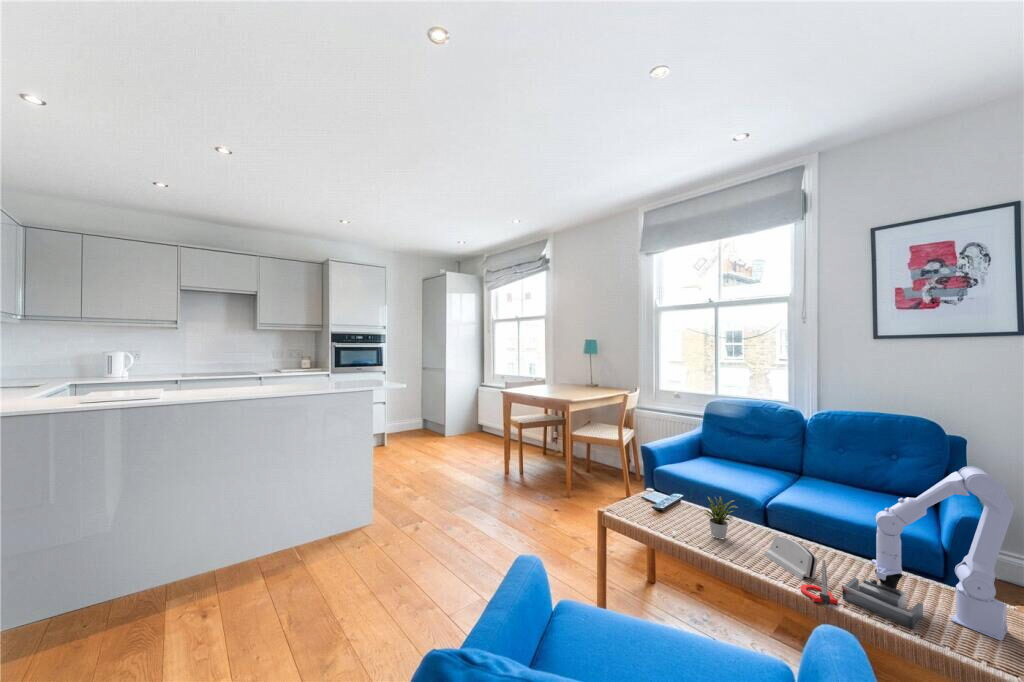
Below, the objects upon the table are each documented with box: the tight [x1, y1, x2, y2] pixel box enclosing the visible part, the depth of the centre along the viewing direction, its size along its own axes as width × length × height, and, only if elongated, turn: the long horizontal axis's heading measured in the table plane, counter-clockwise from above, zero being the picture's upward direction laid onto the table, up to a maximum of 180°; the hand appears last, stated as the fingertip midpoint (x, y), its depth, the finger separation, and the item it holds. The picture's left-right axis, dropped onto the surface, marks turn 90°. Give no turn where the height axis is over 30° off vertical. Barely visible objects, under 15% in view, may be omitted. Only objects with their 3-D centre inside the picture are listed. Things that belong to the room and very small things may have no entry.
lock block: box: [858, 577, 907, 611], centre depth 124 cm, size 9×7×6 cm
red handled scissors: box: [800, 559, 839, 605], centre depth 129 cm, size 8×13×9 cm
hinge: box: [764, 535, 818, 581], centre depth 146 cm, size 17×5×10 cm, turn 9°
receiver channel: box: [841, 577, 924, 630], centre depth 123 cm, size 16×11×4 cm, turn 33°
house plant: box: [703, 496, 739, 539], centre depth 167 cm, size 14×14×16 cm
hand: (888, 595), depth 126 cm, fingers closed
